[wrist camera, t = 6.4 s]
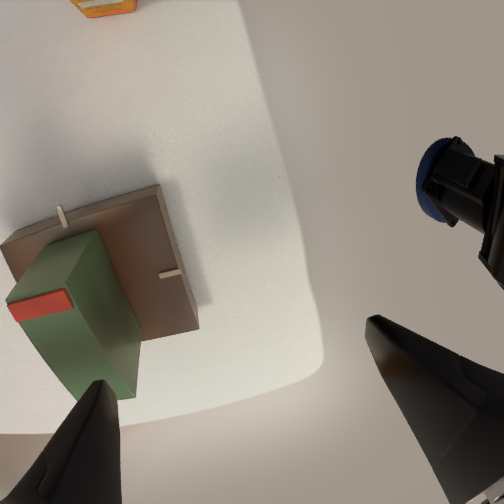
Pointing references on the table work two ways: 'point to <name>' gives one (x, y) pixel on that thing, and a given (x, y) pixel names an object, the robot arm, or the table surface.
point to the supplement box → (104, 7)
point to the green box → (79, 316)
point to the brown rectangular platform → (124, 256)
